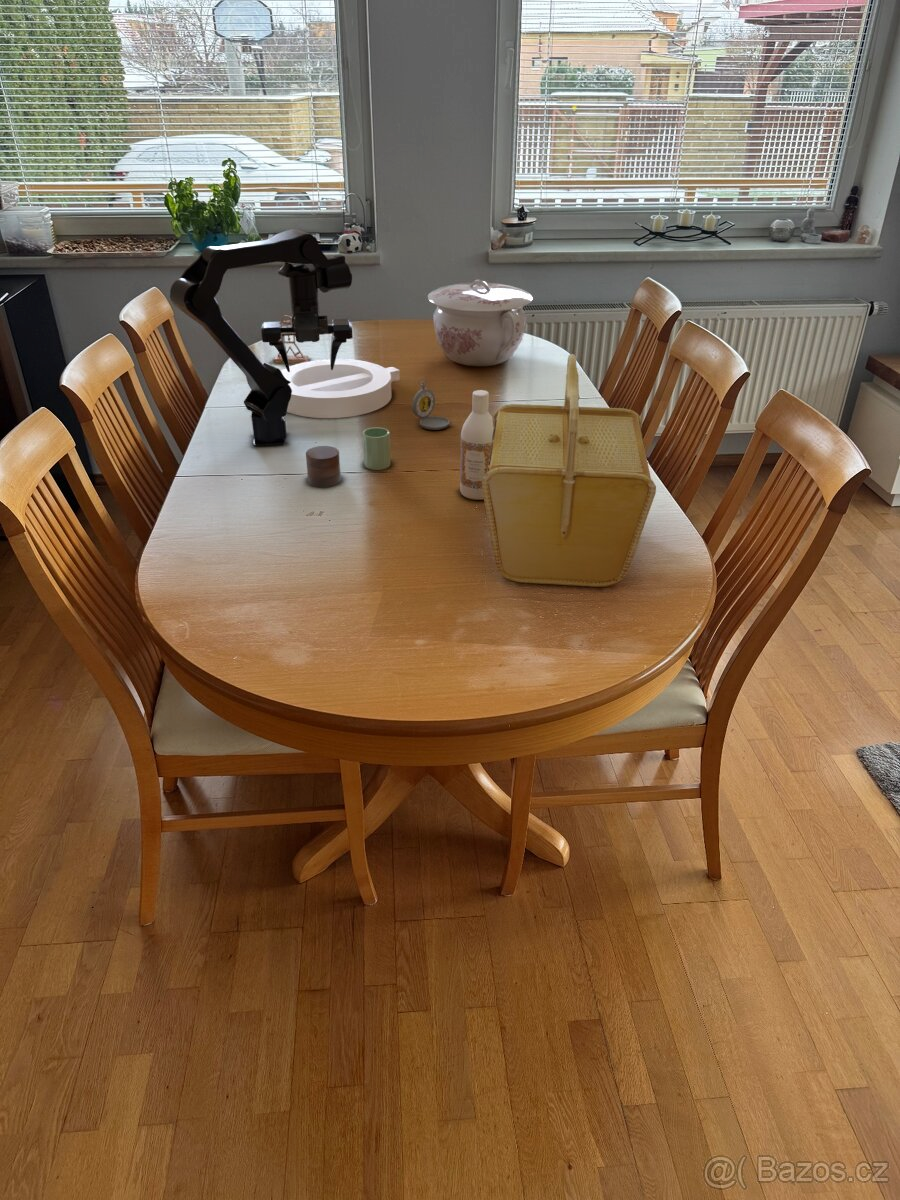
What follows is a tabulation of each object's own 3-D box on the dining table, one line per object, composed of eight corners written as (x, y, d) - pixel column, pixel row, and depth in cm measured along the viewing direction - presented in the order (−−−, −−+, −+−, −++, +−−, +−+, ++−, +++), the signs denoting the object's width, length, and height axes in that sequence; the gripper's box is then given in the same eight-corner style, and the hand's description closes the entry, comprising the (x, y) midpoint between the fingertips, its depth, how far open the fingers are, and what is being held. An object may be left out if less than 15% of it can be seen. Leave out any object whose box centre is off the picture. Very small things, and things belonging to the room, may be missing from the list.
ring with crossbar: (402, 381, 222) (402, 362, 220) (375, 421, 199) (374, 401, 197) (296, 374, 226) (295, 356, 224) (258, 413, 203) (255, 393, 201)
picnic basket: (490, 505, 165) (495, 346, 148) (629, 512, 162) (650, 351, 146) (478, 588, 140) (482, 408, 124) (642, 597, 138) (668, 416, 122)
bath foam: (455, 498, 167) (456, 396, 156) (465, 483, 173) (467, 384, 162) (490, 503, 165) (494, 401, 155) (500, 487, 171) (504, 388, 160)
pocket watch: (446, 432, 194) (446, 388, 189) (409, 429, 196) (408, 385, 190) (453, 419, 201) (453, 376, 196) (417, 416, 202) (416, 373, 197)
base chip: (308, 488, 170) (307, 479, 169) (307, 474, 176) (307, 465, 175) (341, 486, 171) (341, 477, 170) (339, 472, 177) (339, 463, 175)
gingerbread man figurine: (309, 359, 237) (305, 314, 230) (305, 363, 234) (302, 318, 227) (276, 358, 238) (272, 313, 231) (273, 362, 234) (268, 317, 228)
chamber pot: (436, 341, 250) (435, 265, 239) (532, 346, 247) (536, 269, 236) (419, 373, 227) (418, 291, 216) (525, 379, 224) (530, 296, 213)
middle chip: (307, 479, 169) (306, 469, 168) (307, 465, 175) (306, 456, 174) (341, 477, 170) (340, 467, 169) (339, 463, 175) (338, 454, 174)
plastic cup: (365, 470, 177) (363, 438, 174) (363, 459, 182) (361, 428, 178) (391, 469, 178) (390, 436, 174) (389, 458, 183) (387, 426, 179)
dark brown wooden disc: (306, 469, 168) (306, 460, 167) (306, 456, 174) (305, 446, 172) (340, 467, 169) (339, 457, 168) (338, 454, 174) (338, 444, 173)
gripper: (257, 308, 173) (265, 385, 182) (352, 304, 175) (356, 380, 184) (258, 294, 182) (266, 367, 191) (348, 290, 185) (352, 364, 193)
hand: (310, 370), depth 189 cm, fingers open, 9 cm apart
